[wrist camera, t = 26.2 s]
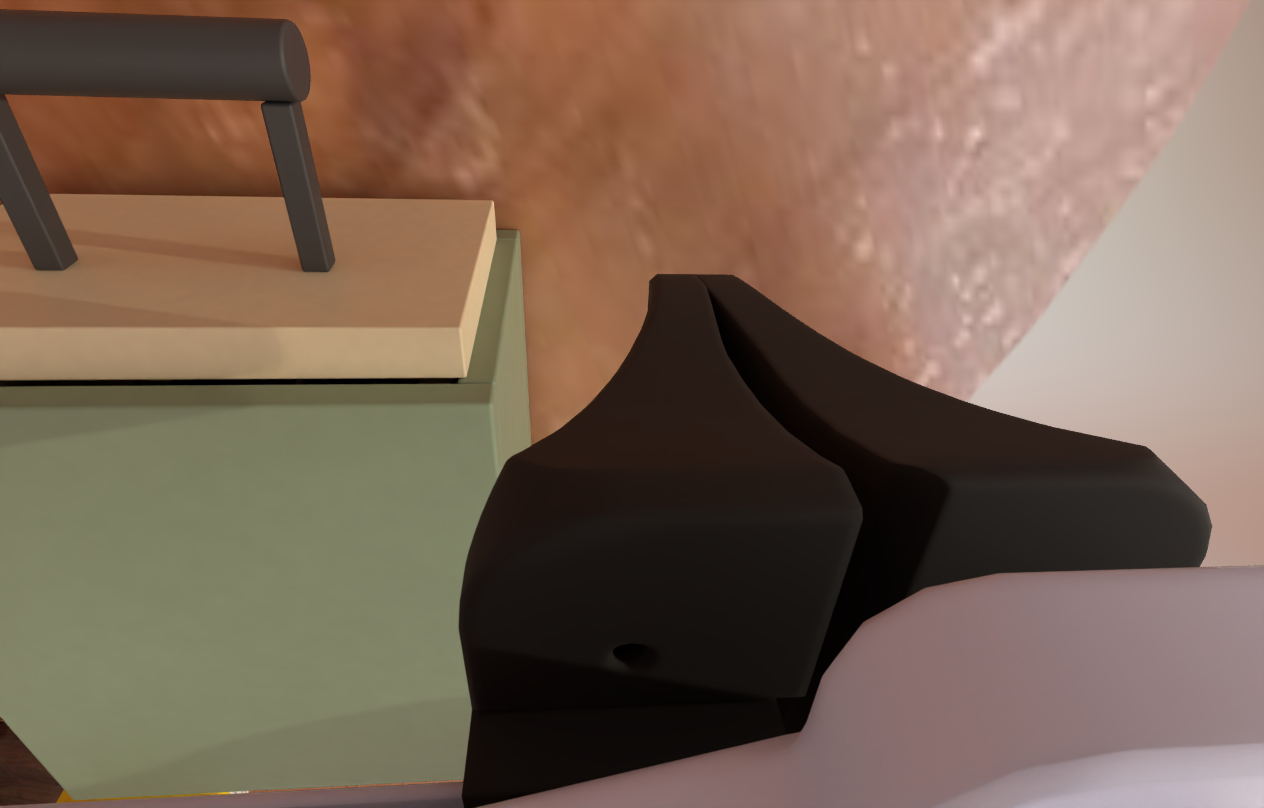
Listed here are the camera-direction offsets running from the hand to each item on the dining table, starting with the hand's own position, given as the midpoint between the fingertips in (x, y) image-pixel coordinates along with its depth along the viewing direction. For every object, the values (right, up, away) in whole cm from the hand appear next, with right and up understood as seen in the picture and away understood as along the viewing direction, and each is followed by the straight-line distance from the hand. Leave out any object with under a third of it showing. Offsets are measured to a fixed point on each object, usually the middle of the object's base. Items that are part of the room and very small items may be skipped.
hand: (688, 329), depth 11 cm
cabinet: (-11, -2, +13) cm, 18 cm away
